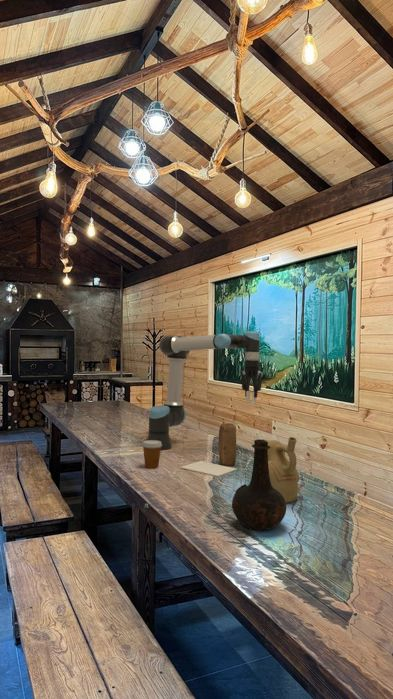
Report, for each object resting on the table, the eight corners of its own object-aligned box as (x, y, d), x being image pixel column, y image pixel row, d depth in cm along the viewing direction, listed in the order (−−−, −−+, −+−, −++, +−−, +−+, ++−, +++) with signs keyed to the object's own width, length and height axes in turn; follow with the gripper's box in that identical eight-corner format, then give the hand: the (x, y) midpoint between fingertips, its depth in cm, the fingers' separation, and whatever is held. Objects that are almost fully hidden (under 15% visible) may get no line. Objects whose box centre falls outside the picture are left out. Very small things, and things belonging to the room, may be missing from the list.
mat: (180, 468, 216) (180, 467, 216) (200, 462, 229) (200, 460, 229) (218, 477, 203) (218, 475, 203) (237, 469, 215) (237, 468, 215)
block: (236, 466, 221) (237, 425, 221) (221, 467, 220) (222, 426, 220) (231, 461, 232) (231, 422, 232) (216, 461, 231) (217, 422, 231)
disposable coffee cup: (160, 469, 213) (161, 444, 212) (140, 469, 213) (141, 443, 213) (162, 464, 222) (163, 440, 222) (143, 464, 222) (143, 439, 222)
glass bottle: (250, 511, 161) (251, 432, 161) (295, 524, 150) (297, 439, 149) (220, 525, 147) (222, 439, 147) (268, 541, 136) (270, 448, 136)
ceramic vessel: (284, 488, 188) (285, 428, 188) (312, 504, 170) (314, 437, 170) (247, 492, 182) (249, 430, 182) (273, 509, 164) (274, 440, 163)
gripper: (235, 359, 246) (234, 402, 246) (261, 360, 237) (260, 405, 237) (242, 359, 252) (241, 401, 252) (268, 360, 243) (267, 404, 243)
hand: (251, 403), depth 244 cm, fingers open, 3 cm apart
